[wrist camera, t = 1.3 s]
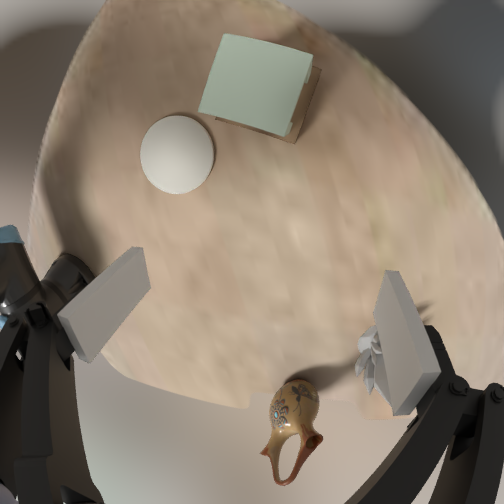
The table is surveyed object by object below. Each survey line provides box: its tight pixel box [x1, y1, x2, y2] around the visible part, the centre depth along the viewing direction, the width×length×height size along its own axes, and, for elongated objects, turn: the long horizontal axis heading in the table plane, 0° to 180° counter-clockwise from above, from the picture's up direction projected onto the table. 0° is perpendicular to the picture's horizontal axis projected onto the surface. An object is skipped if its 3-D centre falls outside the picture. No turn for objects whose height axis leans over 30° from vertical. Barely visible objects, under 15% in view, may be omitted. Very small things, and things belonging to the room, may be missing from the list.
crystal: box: [355, 325, 392, 407], centre depth 40 cm, size 10×13×15 cm
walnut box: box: [215, 66, 322, 144], centre depth 30 cm, size 10×10×5 cm
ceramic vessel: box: [261, 379, 323, 486], centre depth 45 cm, size 16×9×25 cm, turn 144°
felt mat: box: [140, 116, 214, 194], centre depth 38 cm, size 12×12×1 cm
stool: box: [198, 33, 313, 137], centre depth 24 cm, size 8×8×9 cm
